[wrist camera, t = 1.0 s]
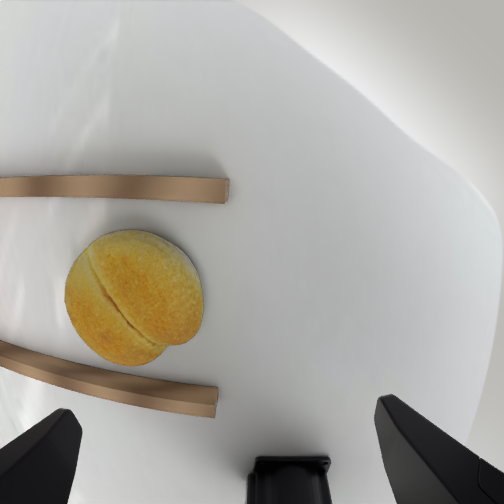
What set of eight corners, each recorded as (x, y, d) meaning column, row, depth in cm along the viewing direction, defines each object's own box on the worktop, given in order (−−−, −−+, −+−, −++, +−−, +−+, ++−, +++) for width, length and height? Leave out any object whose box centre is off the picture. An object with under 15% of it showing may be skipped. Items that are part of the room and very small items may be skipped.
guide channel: (229, 179, 18) (221, 181, 14) (217, 399, 22) (211, 438, 18) (-37, 180, 18) (-70, 185, 14) (-13, 345, 22) (-38, 365, 18)
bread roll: (230, 308, 20) (224, 340, 16) (129, 364, 21) (109, 397, 17) (153, 196, 18) (128, 203, 15) (60, 271, 20) (27, 291, 16)
